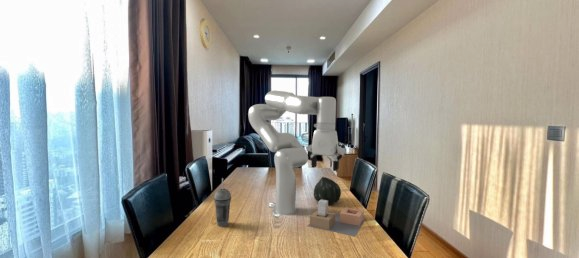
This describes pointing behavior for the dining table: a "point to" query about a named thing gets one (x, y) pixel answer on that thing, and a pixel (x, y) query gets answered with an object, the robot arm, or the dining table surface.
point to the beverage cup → (222, 206)
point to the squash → (327, 191)
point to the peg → (323, 208)
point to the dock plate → (339, 221)
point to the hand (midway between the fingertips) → (324, 168)
